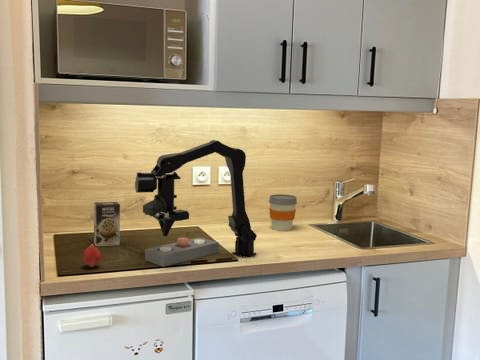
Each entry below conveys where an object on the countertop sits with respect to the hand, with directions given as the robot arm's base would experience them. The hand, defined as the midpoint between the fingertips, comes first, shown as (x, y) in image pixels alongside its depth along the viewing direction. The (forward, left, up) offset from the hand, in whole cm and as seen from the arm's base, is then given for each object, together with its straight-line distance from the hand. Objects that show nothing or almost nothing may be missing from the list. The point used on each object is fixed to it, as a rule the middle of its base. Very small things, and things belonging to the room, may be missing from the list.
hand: (165, 236), depth 180 cm
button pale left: (0, 0, -7) cm, 7 cm away
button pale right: (0, -16, -7) cm, 18 cm away
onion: (+10, +23, -9) cm, 26 cm away
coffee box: (+32, +3, -9) cm, 33 cm away
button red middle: (0, -8, -5) cm, 10 cm away
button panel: (0, -8, -9) cm, 12 cm away
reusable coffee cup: (+4, -71, -9) cm, 72 cm away
